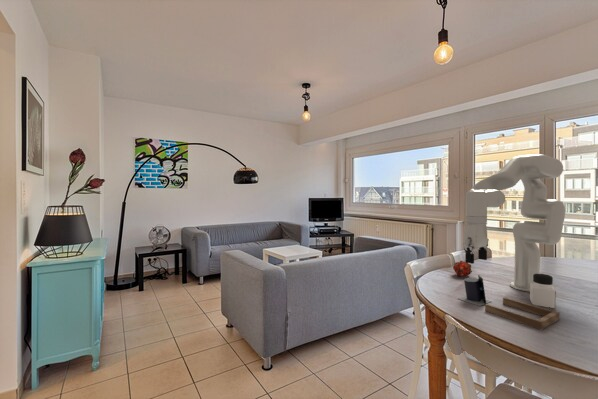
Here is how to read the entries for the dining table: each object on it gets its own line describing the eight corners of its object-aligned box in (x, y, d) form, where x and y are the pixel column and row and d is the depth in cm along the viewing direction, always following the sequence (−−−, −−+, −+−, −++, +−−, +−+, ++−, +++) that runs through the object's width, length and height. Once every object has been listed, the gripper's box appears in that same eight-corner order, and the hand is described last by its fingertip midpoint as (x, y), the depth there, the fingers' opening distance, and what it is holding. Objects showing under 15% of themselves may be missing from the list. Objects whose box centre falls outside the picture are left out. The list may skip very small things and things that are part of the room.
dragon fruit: (466, 276, 163) (461, 284, 154) (452, 265, 167) (446, 272, 158) (476, 265, 159) (472, 273, 150) (462, 255, 162) (457, 262, 154)
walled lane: (504, 303, 120) (504, 297, 119) (559, 319, 104) (559, 312, 104) (485, 310, 112) (485, 304, 112) (541, 329, 97) (541, 322, 97)
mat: (469, 295, 129) (469, 294, 129) (491, 301, 121) (491, 301, 121) (457, 298, 124) (457, 298, 124) (479, 306, 116) (479, 305, 116)
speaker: (488, 299, 122) (485, 274, 122) (486, 304, 118) (483, 278, 118) (467, 297, 127) (465, 273, 127) (465, 301, 123) (462, 276, 123)
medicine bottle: (555, 308, 114) (556, 278, 114) (532, 304, 118) (533, 275, 118) (551, 302, 120) (552, 273, 120) (529, 299, 124) (530, 271, 124)
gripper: (478, 218, 129) (478, 256, 130) (455, 221, 120) (455, 262, 121) (496, 219, 123) (496, 259, 123) (474, 222, 114) (474, 266, 115)
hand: (476, 261), depth 122 cm, fingers open, 9 cm apart
